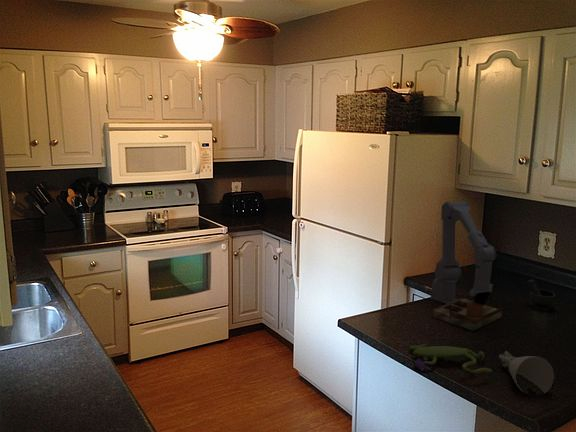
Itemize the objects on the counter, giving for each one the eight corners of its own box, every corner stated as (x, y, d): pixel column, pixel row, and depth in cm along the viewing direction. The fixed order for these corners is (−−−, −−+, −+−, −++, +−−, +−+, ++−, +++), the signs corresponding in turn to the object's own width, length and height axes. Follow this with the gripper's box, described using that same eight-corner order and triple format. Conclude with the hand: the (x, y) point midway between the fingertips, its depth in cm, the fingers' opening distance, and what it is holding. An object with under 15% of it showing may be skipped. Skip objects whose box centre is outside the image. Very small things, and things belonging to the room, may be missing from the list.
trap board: (431, 316, 208) (432, 305, 207) (461, 304, 223) (462, 293, 222) (473, 331, 195) (474, 319, 194) (501, 317, 209) (502, 305, 208)
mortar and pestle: (554, 307, 222) (557, 280, 220) (553, 314, 214) (557, 286, 212) (525, 302, 227) (528, 275, 225) (523, 308, 219) (527, 281, 217)
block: (466, 315, 203) (467, 304, 202) (471, 312, 206) (473, 301, 205) (476, 318, 200) (477, 307, 199) (482, 315, 203) (483, 304, 202)
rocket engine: (503, 335, 170) (532, 348, 152) (529, 358, 170) (561, 374, 152) (480, 362, 169) (507, 379, 151) (507, 385, 170) (536, 404, 152)
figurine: (489, 389, 156) (491, 371, 155) (400, 369, 166) (401, 352, 165) (493, 362, 172) (495, 347, 171) (412, 346, 183) (413, 331, 182)
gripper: (483, 283, 195) (479, 317, 197) (501, 275, 204) (497, 308, 207) (465, 278, 200) (462, 311, 202) (484, 271, 209) (481, 303, 212)
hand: (479, 309), depth 205 cm, fingers closed
